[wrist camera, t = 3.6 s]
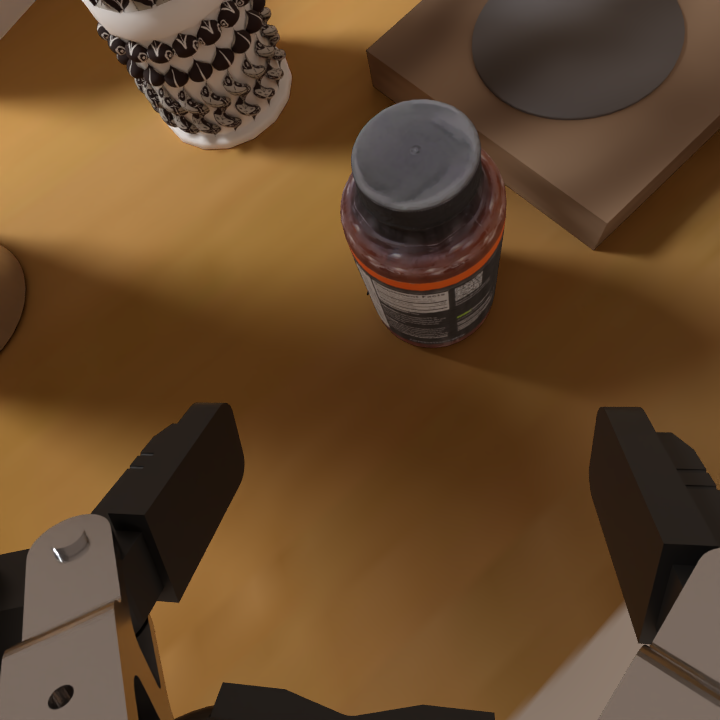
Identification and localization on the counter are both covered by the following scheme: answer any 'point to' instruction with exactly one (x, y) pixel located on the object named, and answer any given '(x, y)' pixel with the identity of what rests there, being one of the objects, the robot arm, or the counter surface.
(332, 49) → the counter surface
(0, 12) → the pizza boxes
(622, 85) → the base board
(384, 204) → the supplement bottle
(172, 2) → the decorative candle
